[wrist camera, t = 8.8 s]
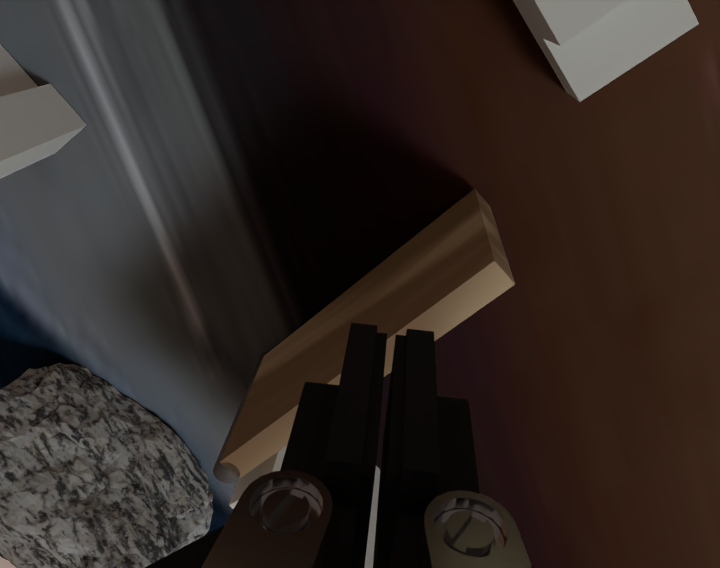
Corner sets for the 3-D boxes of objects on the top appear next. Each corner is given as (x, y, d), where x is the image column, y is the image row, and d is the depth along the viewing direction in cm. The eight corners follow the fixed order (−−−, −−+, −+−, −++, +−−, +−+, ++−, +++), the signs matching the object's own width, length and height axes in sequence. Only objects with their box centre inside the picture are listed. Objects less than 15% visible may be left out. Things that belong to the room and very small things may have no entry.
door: (506, 224, 31) (538, 310, 22) (287, 389, 36) (250, 505, 28) (474, 186, 30) (494, 260, 22) (255, 359, 35) (207, 470, 27)
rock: (-31, 356, 37) (-148, 503, 28) (72, 303, 34) (-25, 448, 26) (145, 500, 44) (92, 648, 36) (239, 466, 42) (205, 617, 34)
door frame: (-33, -10, 28) (-216, -8, 20) (388, 466, 38) (379, 596, 30) (-64, 23, 29) (-252, 39, 21) (356, 482, 39) (340, 612, 31)
